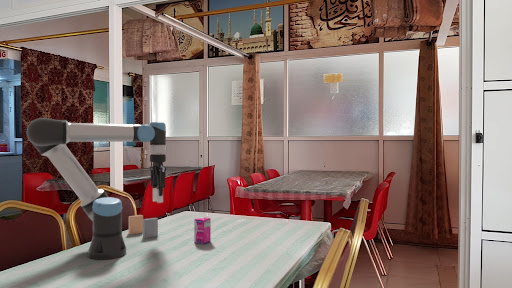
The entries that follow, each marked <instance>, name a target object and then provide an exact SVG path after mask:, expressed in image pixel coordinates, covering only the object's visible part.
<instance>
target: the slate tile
mask: <svg viewBox="0 0 512 288" xmlns="http://www.w3.org/2000/svg"><path fill="white" fill-rule="evenodd" d="M155 237H159V219H158V217H151V218H143V233H142V238H144V239H147V238H155Z"/></svg>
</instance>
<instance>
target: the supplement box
mask: <svg viewBox="0 0 512 288" xmlns="http://www.w3.org/2000/svg"><path fill="white" fill-rule="evenodd" d="M193 221H194V224H193V226H194V228H193V229H194V231H193V233H194V235H193V236H194V237H193V238H194V242H193V243H195V244H200V245H205V244H209V243H210V242H211V237H212V236H211V233H212V232H211V222H212V219H211V217H205V216H200V217H197V218H194V219H193Z"/></svg>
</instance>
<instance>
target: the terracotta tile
mask: <svg viewBox="0 0 512 288" xmlns="http://www.w3.org/2000/svg"><path fill="white" fill-rule="evenodd" d="M143 219H144V215H142V214H138V215H137V214H136V215H129V216H128V234H129V235H135V234H140V233H141V234H143Z"/></svg>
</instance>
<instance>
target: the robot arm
mask: <svg viewBox="0 0 512 288" xmlns="http://www.w3.org/2000/svg"><path fill="white" fill-rule="evenodd" d="M25 133H26V138H27V139H28V141H29V142H30V143H31V144H32V145H33V147H34V148H35V149H36V150H37V151H38V152H39V155H41V156H44V157H47V158H48V159H49V161H50V162H51V163H52V164H53V166H54V168H56V170H57V171H58V172H59V174H60V175H61V177H63V179H64V181H66V183H67V184H68V186H69V187H70V188H71V189H72V191H73V192H74V193H75V195H76V196H77V197H78V198H79V200H80V205H79V206H80V207H81V208H82V210H83V212H85V214H86V215H87V217H88V218H89V219H90V220H91V222H92V238H91V242H90V244H89V246H88V247H89V248H88V251H87V257H88V259H93V260H111V259H116V258H121V257H122V256H125V255H126V254H127V246H126V243H125V240H124V238H123V231H122V230H123V205H122V204H123V203H122V200H121V199H119V198H117V197H111V196H110V197H109V195H108V194H107V192H106V191H105V190H104V189H100V188H98V186H97V185H96V184H95V182H94V181H93V180H92V179H91V177H90V175H88V173H87V172H86V170H85V169H84V168H83V166H82V165H81V164H80V162H79V161H78V160H77V158H76V157H75V155H74V154H73V153H72V152H71V150H70V149H69V148H68V146H67V144H68V143H70V142H73V143H75V142H77V143H78V142H81V143H82V142H87V143H88V142H92V143H93V142H94V143H95V142H99V143H100V142H104V143H105V142H107V143H108V142H110V143H112V142H114V143H115V142H116V143H118V142H120V143H121V142H122V143H123V142H128V143H129V142H130V143H135V142H136V143H137V142H138V143H149V154H150V155H149V162H150V163H152V165H150V167H149V169H150V187H152V202H154V203H155V202H156V203H157V204H161V203H164V189H165V188H166V170H167V168H166V166H165V167H164V163H166V161H167V158H166V157H167V155H166V151H167V146H166V144H167V143H166V140H167V139H166V138H167V137H166V136H167V127H166V123H165V122H162V121H152V122H150V123H149V124H127V123H126V124H120V123H119V124H118V123H90V122H89V123H88V122H87V123H86V122H85V123H84V122H83V123H81V122H80V123H78V122H77V123H76V122H68V120H65V119H64V120H63V119H54V118H48V117H39V118H35V119H33V120H32V121H31V122H30V123H29V124H28V125H27V128H26V132H25Z"/></svg>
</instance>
